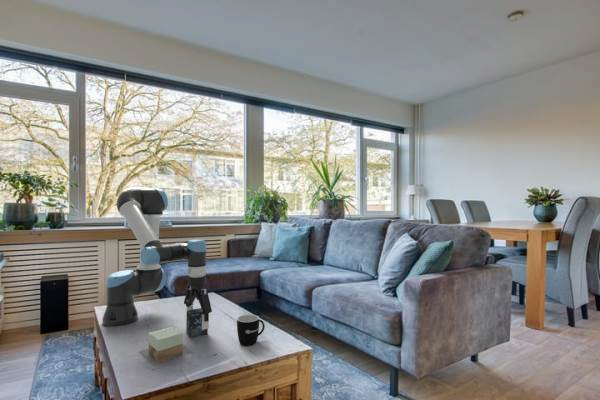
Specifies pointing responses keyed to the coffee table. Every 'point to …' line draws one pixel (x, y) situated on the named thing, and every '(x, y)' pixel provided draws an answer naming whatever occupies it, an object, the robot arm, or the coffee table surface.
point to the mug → (248, 329)
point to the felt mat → (146, 355)
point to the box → (195, 323)
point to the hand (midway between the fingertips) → (197, 324)
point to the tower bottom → (165, 353)
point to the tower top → (165, 338)
